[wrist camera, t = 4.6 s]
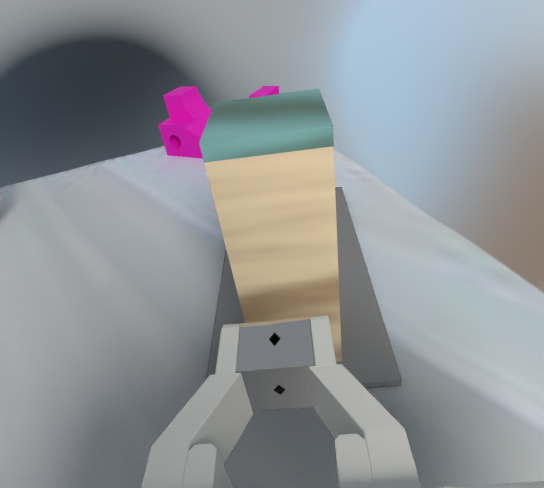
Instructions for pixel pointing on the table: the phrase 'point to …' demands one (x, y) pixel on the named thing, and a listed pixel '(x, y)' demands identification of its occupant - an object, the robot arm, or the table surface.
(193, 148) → the toy block
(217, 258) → the table surface
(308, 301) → the tall block
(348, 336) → the mat
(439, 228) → the table surface
